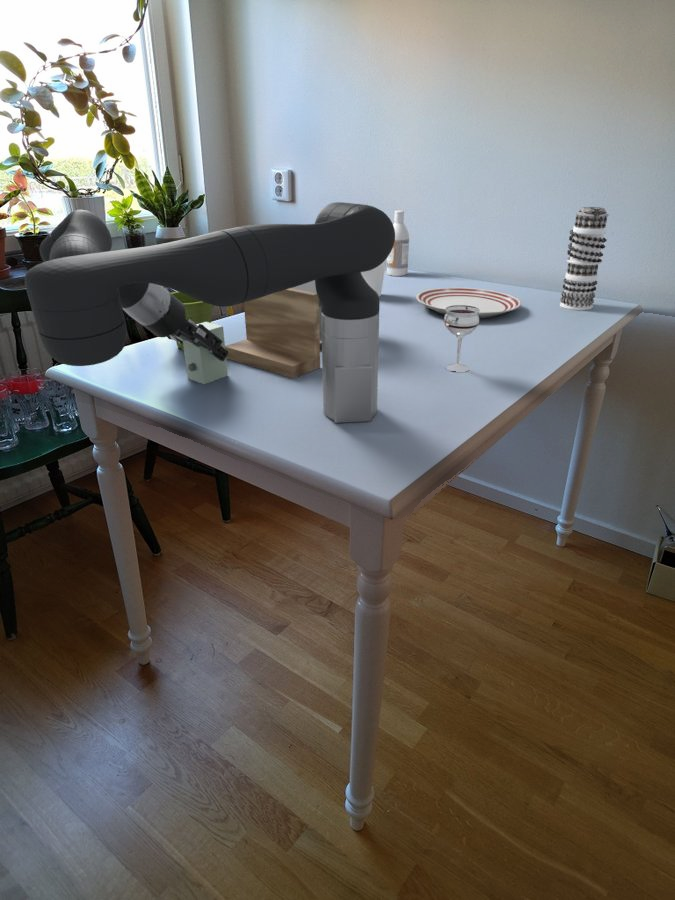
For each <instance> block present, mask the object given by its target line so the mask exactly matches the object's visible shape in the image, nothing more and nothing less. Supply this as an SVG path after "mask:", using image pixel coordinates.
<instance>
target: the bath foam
mask: <svg viewBox="0 0 675 900" xmlns="http://www.w3.org/2000/svg"><path fill="white" fill-rule="evenodd" d="M404 214H405V211H404V210H395V211H394V223H393V226H394V229H395V242H394V246H393V248H392V251H391V253H390V254H389V256H388V257H387V259H386V275H388V276H390V275H392V277H404V276H406V275H408V271H409V268H408V267H409V249H410V247H409V246H410V235H409V231H408V229H407V226H406V225H405V223H404Z"/></svg>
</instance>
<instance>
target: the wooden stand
mask: <svg viewBox="0 0 675 900" xmlns="http://www.w3.org/2000/svg"><path fill="white" fill-rule="evenodd" d="M243 311H244V321H245V322H244V324H245V334H246V335H245V337H246V339H243V340H239V341H236V342H234V343H233V342H232V343H230V344H228V345H227V344H226V345H225V349H226V350H227V351H228V355H227V357H226V359H228V360H232V361H234V362H237V363H240V364H245V365H247V366H251V367H255V368H259V369H261V370H265V371H268V372H271V373H274V374H278V375H281V376H284V377H288V378H291V379H295V378H298V377H300V376H303V375H305V374H307V373H311V372H312V371H315V370H317V369H320V368H321V351H320V336H319V298H318V295H317V293H313V292H308V291H302V290H297V289H292V288H289V289H286V290H283V291H279V292H276V293H273V294H270V295H267V296H264V297H261V298H258V299H254V300H251V301H247V302H244V303H243Z"/></svg>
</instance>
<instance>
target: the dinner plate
mask: <svg viewBox="0 0 675 900" xmlns="http://www.w3.org/2000/svg"><path fill="white" fill-rule="evenodd" d="M416 300H417V301H418V302H419V304H422V305H423V306H424V307H426V308H427V309H431V310H432V311H435V312H437V313H439V314H442V315H444V316H445V315H446V313H447V312H446V310H445V308H446V307H448V306H453V305H468V306H474V307H477V308H479V309H480V311H479V313H478V316H479V319H483V318H484V319H485V318H490V317H496V316H498V315H501V314H502V315H503V314H506V313H508V312H510V311H511V312H512V311H515V310H516V309H519V307H521V304H522V302H521V300H520V299H518V298H517V297H515V296H513V295H511V294H508V293H504V292H501V291H496V290H492V289H485V288H484V289H483V288H474V287H461V286H460V287H458V286H457V287H455V286H454V287H438V288H430V289H425V290H422V291H419V292H418V294H416Z"/></svg>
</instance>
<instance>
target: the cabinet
mask: <svg viewBox="0 0 675 900" xmlns="http://www.w3.org/2000/svg"><path fill="white" fill-rule="evenodd" d="M200 324H202V325H204V327H206V328H207V329H208V330H209V331H211V332H212V333H213V334H214V335H216V336H217V337H218V338H219V339H221V340H222V341H223V342H222V344H221V346H222V347H223V348H224V349H225V346H226V341H225V334H224V333H225V332H224V326H223V325H221V324H217V323H216V324H215V323H213V322H211V323H209V322H203V323H200ZM196 325H197V326H198V325H199V324H196ZM194 342H198V340H196V339H195V340H194ZM183 347H184V350H183V353H184V360H185V368H186V369H185V370H186V376H187V377H186V378H187V379H188V380H190V379H191V381H193V380H194V382H196V381H197V383H199V384H203V385H206V384H208V383H211V381H212V382H214V381H217V380H219V379H223V378H225V377H228V376H229V375H228V365H227V362H228V361H227V358H226V359H225V360H224V361H220V360H219V359H217V358H216V357H215V356H214V355H212V354H211V353H210V352H208V351H207V350H205V349H203V348H202V347H200V348H196V347H195V346H193V345H191V344H190V343H188V342H186V341H183Z"/></svg>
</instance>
